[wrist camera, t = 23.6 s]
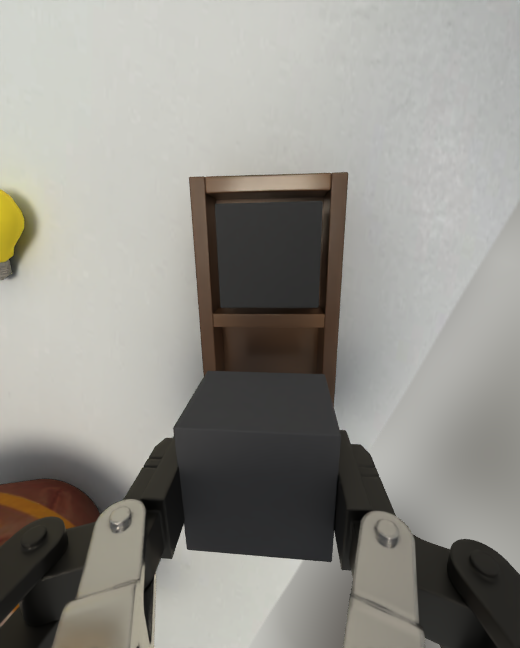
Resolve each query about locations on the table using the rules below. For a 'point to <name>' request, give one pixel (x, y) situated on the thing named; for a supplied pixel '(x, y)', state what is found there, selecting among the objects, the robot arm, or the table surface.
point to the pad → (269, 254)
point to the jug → (42, 507)
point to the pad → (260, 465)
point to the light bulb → (8, 231)
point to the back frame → (270, 323)
